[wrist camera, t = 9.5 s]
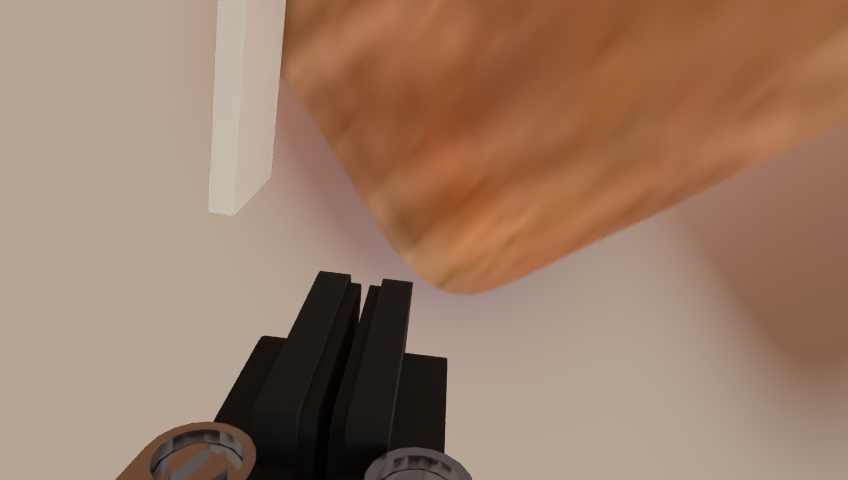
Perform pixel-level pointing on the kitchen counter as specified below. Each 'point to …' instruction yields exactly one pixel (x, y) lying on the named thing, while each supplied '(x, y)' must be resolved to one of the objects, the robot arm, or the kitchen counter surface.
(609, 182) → the kitchen counter surface
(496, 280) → the kitchen counter surface
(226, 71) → the side door
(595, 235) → the kitchen counter surface
